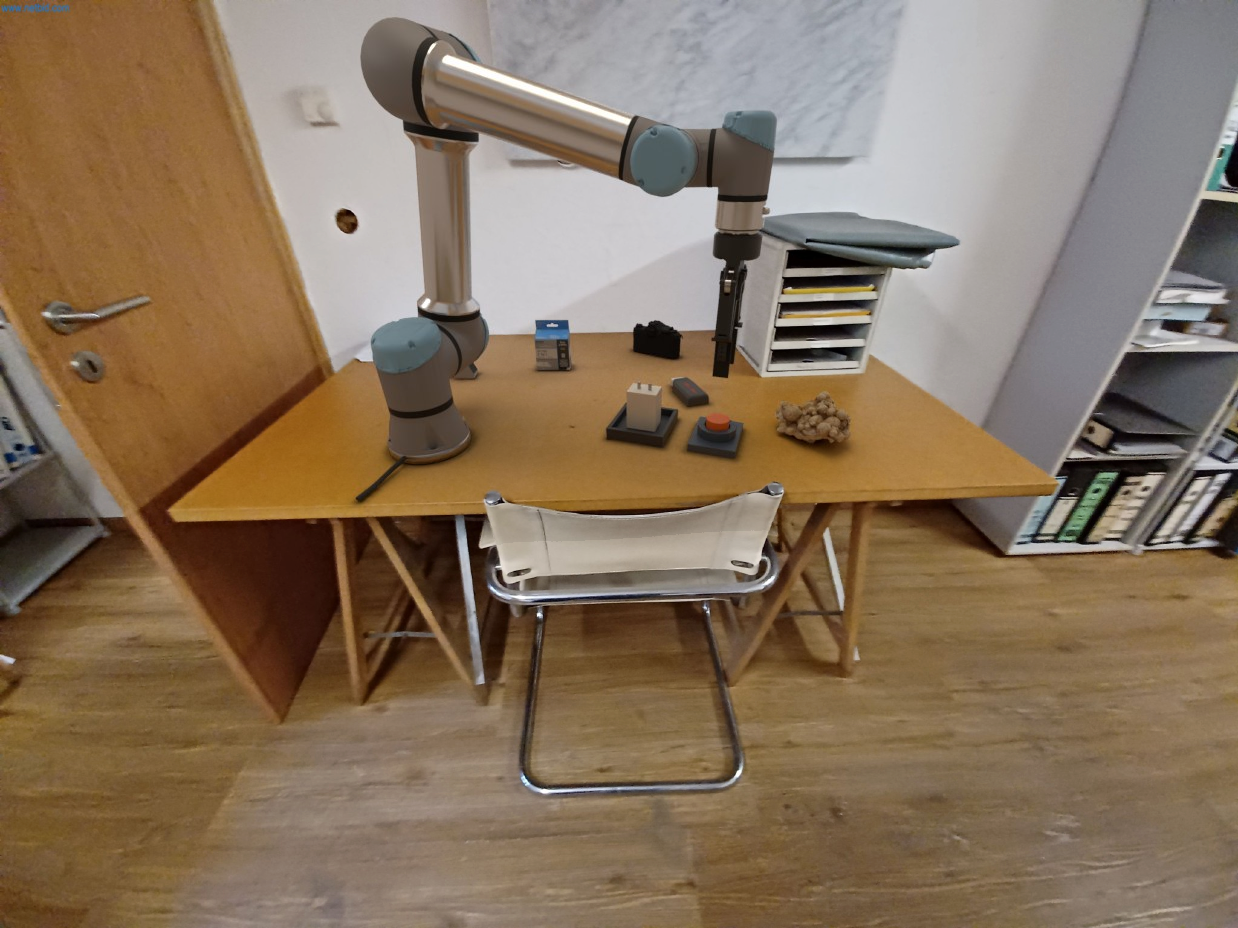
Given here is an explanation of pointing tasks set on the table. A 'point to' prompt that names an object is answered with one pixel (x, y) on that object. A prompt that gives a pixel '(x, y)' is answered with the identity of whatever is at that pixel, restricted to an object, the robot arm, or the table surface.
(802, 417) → the mineral formation
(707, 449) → the switch block
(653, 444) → the cradle
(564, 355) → the label tape box
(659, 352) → the film camera
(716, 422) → the button
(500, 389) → the table surface
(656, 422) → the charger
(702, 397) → the usb drive
